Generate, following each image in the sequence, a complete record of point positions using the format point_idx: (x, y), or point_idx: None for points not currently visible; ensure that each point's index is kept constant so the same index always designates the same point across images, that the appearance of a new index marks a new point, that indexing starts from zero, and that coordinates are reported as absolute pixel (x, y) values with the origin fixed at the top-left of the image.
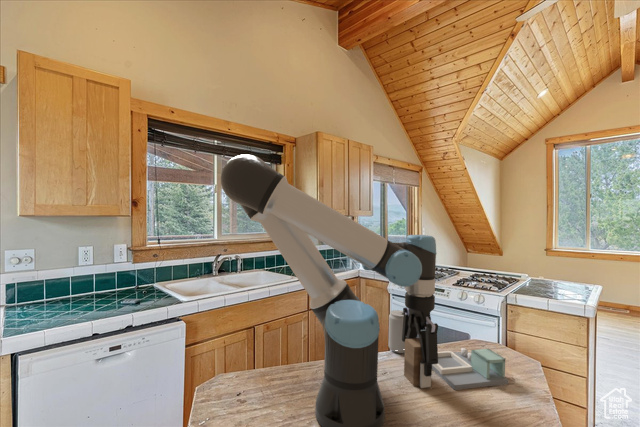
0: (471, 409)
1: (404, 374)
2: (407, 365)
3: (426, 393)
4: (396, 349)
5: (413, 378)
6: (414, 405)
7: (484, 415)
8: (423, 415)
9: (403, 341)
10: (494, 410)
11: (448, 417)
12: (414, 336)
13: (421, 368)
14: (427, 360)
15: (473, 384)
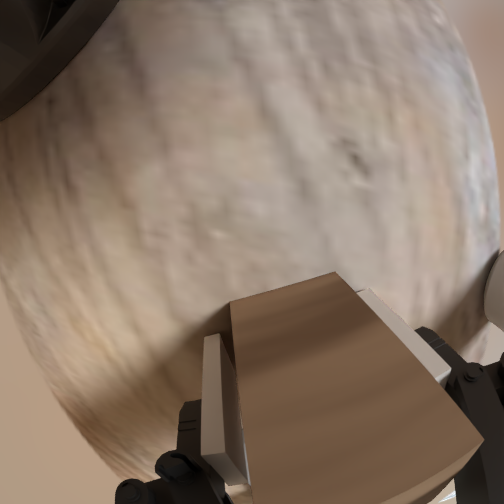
0: (119, 434)
1: (332, 276)
2: (326, 324)
3: (169, 346)
4: (499, 273)
5: (232, 324)
6: (62, 267)
7: (106, 444)
8: (22, 287)
9: (500, 360)
10: (139, 466)
11: (48, 365)
12: (462, 483)
13: (204, 417)
14: (129, 501)
15: None
